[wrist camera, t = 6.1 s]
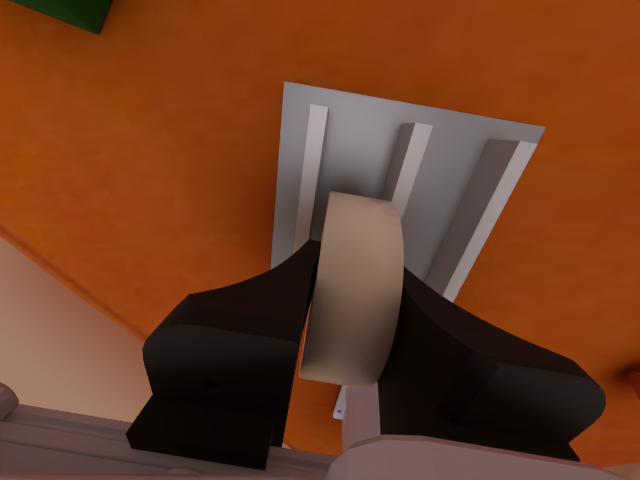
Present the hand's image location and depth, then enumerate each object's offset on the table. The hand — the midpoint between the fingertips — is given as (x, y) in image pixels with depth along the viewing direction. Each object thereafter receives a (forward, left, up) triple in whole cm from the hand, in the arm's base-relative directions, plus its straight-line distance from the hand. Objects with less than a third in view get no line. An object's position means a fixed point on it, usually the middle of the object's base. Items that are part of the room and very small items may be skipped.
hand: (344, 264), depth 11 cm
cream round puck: (-1, 0, -3) cm, 3 cm away
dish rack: (0, -2, -5) cm, 6 cm away
